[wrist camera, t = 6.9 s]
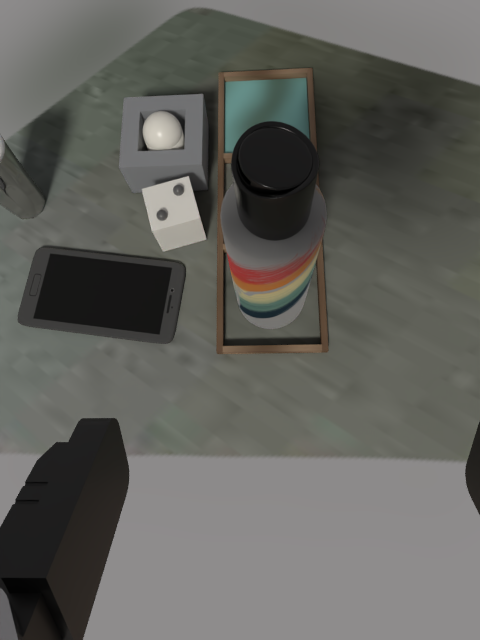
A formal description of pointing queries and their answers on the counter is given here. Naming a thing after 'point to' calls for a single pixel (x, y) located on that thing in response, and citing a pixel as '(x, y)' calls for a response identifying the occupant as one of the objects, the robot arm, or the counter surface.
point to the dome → (163, 132)
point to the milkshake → (18, 186)
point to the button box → (165, 164)
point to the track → (240, 114)
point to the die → (174, 214)
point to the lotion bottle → (273, 222)
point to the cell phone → (103, 295)
